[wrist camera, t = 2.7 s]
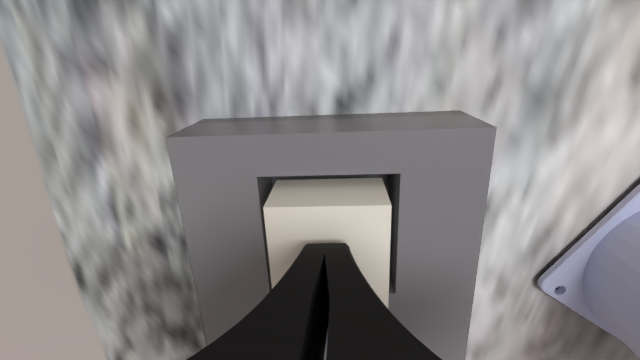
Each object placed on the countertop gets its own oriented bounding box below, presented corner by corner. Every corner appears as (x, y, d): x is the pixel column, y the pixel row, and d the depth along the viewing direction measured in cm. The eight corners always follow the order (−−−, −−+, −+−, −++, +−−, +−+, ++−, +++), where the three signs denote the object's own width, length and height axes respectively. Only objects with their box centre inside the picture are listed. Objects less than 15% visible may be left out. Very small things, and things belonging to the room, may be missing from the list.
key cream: (276, 180, 13) (263, 207, 11) (381, 177, 13) (391, 205, 10) (284, 268, 14) (274, 309, 12) (380, 268, 14) (388, 310, 12)
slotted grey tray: (203, 119, 15) (165, 137, 12) (460, 110, 14) (496, 127, 11) (256, 453, 22) (242, 521, 19) (426, 457, 22) (441, 529, 19)
